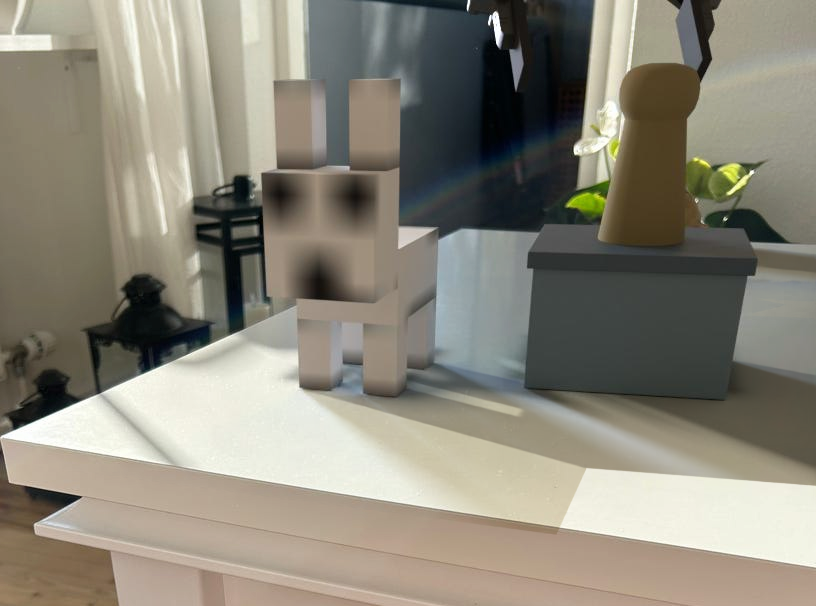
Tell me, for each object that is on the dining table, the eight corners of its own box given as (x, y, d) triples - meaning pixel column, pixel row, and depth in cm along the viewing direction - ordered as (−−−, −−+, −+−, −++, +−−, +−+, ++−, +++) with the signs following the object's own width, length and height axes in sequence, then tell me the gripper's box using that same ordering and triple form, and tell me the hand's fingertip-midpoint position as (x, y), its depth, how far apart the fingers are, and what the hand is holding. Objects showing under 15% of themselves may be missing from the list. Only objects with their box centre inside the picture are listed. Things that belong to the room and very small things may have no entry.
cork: (647, 249, 70) (671, 64, 64) (579, 238, 74) (596, 64, 68) (702, 239, 73) (730, 62, 67) (634, 230, 77) (655, 62, 71)
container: (721, 355, 82) (744, 228, 77) (731, 402, 71) (758, 258, 66) (534, 345, 85) (544, 223, 80) (517, 389, 74) (527, 251, 70)
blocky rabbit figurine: (442, 353, 83) (453, 73, 73) (373, 417, 69) (374, 81, 59) (356, 346, 86) (354, 74, 76) (272, 407, 71) (256, 81, 61)
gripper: (706, -97, 87) (751, 109, 82) (416, -93, 86) (442, 118, 80) (744, -189, 80) (796, 30, 74) (428, -186, 78) (457, 38, 73)
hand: (613, 76), depth 77 cm, fingers open, 13 cm apart
